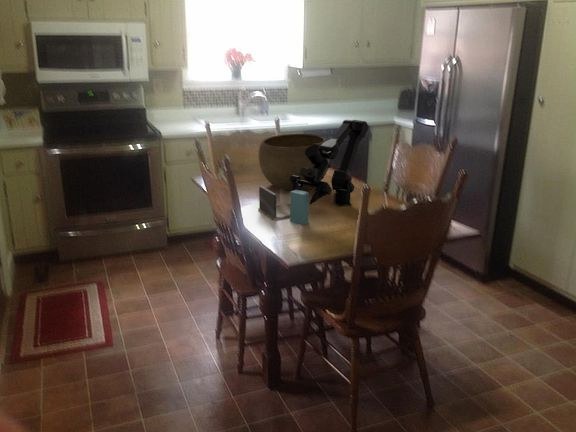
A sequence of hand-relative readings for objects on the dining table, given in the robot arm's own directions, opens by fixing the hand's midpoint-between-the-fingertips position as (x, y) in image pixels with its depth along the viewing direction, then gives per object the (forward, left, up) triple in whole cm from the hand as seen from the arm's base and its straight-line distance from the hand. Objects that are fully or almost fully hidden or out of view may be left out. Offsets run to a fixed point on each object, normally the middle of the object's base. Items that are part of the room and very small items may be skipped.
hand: (301, 201), depth 226 cm
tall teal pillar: (+1, +1, -9) cm, 9 cm away
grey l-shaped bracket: (+6, -12, -9) cm, 16 cm away
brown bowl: (-7, -51, -9) cm, 52 cm away
